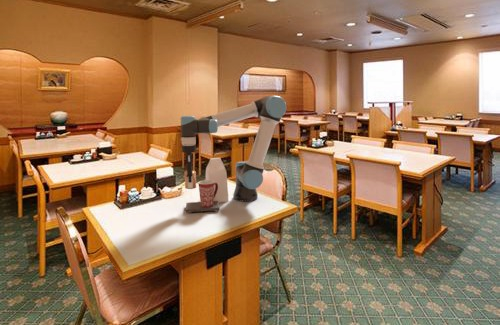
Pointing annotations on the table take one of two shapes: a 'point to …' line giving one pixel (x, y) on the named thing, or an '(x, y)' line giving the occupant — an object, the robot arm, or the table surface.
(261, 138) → the robot arm
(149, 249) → the table surface
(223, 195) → the milk
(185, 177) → the brown short cylinder
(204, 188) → the mug
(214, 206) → the board
